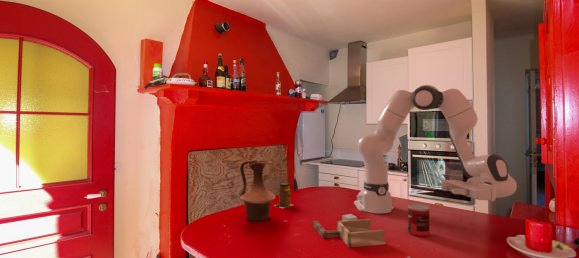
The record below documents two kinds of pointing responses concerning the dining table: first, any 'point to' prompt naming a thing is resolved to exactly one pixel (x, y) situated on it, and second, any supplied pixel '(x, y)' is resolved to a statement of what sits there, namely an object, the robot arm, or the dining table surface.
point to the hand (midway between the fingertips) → (447, 189)
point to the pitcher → (256, 192)
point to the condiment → (284, 196)
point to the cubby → (359, 233)
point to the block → (348, 217)
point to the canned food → (418, 220)
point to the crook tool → (325, 233)
